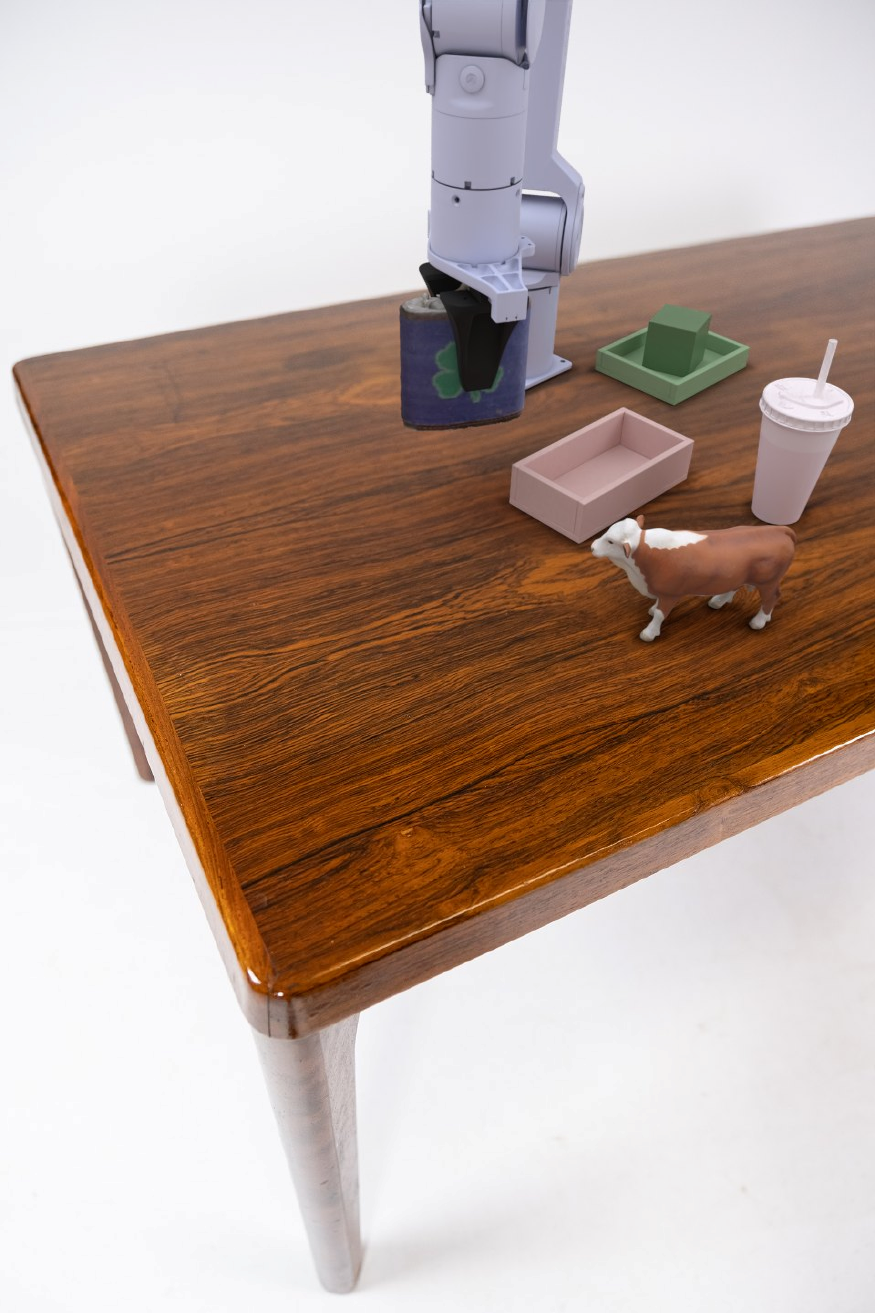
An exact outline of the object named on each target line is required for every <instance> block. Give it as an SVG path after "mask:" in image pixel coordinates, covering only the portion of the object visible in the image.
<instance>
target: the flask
mask: <svg viewBox="0 0 875 1313" xmlns="http://www.w3.org/2000/svg"><path fill="white" fill-rule="evenodd" d="M469 288H470V286H468V285H466V284H464V283H462V285H461V286H460V288H458V289H457V290H465V289H468V290H469ZM455 291H456V290H455ZM436 296H437V297H439V298H437V297H431V296H430V294H429V292H424V293H422V295H421V296H419V297H414V298H409V299H407V300H405V301H404V302H403V303H402V304H401V305H400V306H399V310H398V311H399V318H398V320H399V347H400V350H399V355H400V356H399V357H400V375H399V376H400V377H399V378H400V379H399V380H400V417H401V422H402V425H403V427H404V429H405V428H406V430H408V431H410V430H411V431H413V432H445V431H449V432H450V431H458V430H461V429H462V430H465V429H468V428H478V427H479V428H480V427H484V426H491V425H498V424H501V423H502V424H503V423H504V424H505V423H509V422H512V421H513V420H515V419H516V420H517V419H519V418H521V417H522V415H523V412H524V409H525V397H526V390H525V383H526V368H527V355H528V342H529V325H530V314H531V302H532V301H531V297H530V296H529V307H528V310H527V311H526V319H525V320H520V321H519V322H518V324H517V325H516V327H515V328H514V330H513V332H512V334H511V336H510V338H509V340H508V342H507V345H506V347H505V350H504V353H503V356H502V359H501V362H500V365H499V369H498V372H497V375H496V378H495V381H494V384H493V386H492V388H491V389H485V390H477V391H470V392H465V391H464V390H463V388H462V385H461V382H460V378H459V373H458V364H457V353H456V344H455V339H454V334H453V330H452V326H451V323H450V320H449V317H448V314H447V312H446V310H445V308H444V305H443V303H442V302H441V300H440V295H436Z"/></svg>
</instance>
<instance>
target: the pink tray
mask: <svg viewBox="0 0 875 1313" xmlns="http://www.w3.org/2000/svg"><path fill="white" fill-rule="evenodd" d="M694 445H695V440H694V439H692V438H690V437H687V436H685V435H684V434H681V433H679V432H677V431H675V430H672V429H671V428H669V427H666V426H664V425H662V424H660V423H658V422H656V421H654V420H651V419H649V418H647V417H645V416H644V415H641V414H639V413H637V412H635V411H633V410H631V409H628V408H627V407H625V406H624V407H623V406H622V407H620V408H619V409H617V410H615V411H612V412H611V413H609V414H607V415H605V416H603V417H601V418H599V419H597V420H595V421H594V422H591V423H590V424H588V425H586V426H584V427H582V428H580V429H578V430H576V431H574V432H572V433H570V434H569V435H567V436H565V437H563V438H561V439H559V440H557V441H554V442H553V443H551V444H549V445H547V446H545V447H544V448H541V449H540V450H538V451H536V452H534V453H532V454H530V455H528V456H526V457H524V458H522V459H520V460H518V461H517V462H515V463H513V464H512V465H511V474H510V475H511V477H510V488H509V489H510V490H509V502H508V503H509V504H510V505H511V506H513V507H515V508H517V509H519V510H520V511H522V512H524V513H525V514H527V515H529V516H530V517H532V518H533V519H536V520H538V521H539V522H540V523H543V525H545V526H548V527H549V528H551V529H552V530H555V531H556V532H558V533H560V534H561V535H563V536H565V537H566V538H568V539H569V540H571V541H574V542H575V543H577V544H578V545H579V544H582V543H584V541H587V540H588V539H590V538H591V537H593V536H595V535H597V534H598V533H600V532H601V531H603V530H604V529H607V527H610V526H612V525H614V524H615V523H617V522H619V520H621V519H623V518H625V517H626V516H628V515H629V514H631V513H633V512H634V511H635V510H638V509H639V508H641V507H642V506H644V505H646V504H647V503H649V502H651V501H652V500H654V499H656V498H657V497H659V496H660V495H662V494H664V493H665V492H667V491H668V490H670V489H672V488H674V487H675V486H677V485H679V484H681V483H682V482H684V481H685V480H687V478H688V475H689V474H688V473H689V469H690V464H691V460H692V456H693V450H694Z"/></svg>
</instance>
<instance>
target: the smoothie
mask: <svg viewBox="0 0 875 1313" xmlns="http://www.w3.org/2000/svg"><path fill="white" fill-rule="evenodd" d="M838 342H839V341H838V340H837V339H835V338H831V339H829V340H828V343H827V347H826V350H825V353H824V357H823V361H822V363H821V366H820V371H819V373H818V377H817V379H815V378H809V377H785V378H780V379H776V380H773V381H771V382H769V383H768V384H767V385H766V386H765V387H764V388H763V391H762V394H761V398H760V399H759V403H758V405H759V408H760V412H761V413H762V416H761V422H760V432H759V442H758V447H757V448H758V449H757V456H756V464H755V465H756V466H755V473H754V482H753V484H754V485H753V490H752V500H751V501H752V502H751V507H750V508H751V512H752V514H753V515H754V516H755V517H756V518H757V519H759V520H761V521H763V522H765V523H768V524H771V525H775V526H787V525H792V524H794V523H796V522H798V521H799V520H800V518H801V516H802V514H803V512H804V510H805V508H806V506H807V503H808V501H809V500H810V497H811V495H812V493H813V491H814V488H815V487H816V484H817V482H818V480H819V478H820V477H821V474H822V471H823V469H824V467H825V465H826V463H827V461H828V459H829V457H830V455H831V452H832V450H833V448H834V446H835V445H836V442H837V440H838V438H839V436H840V434H841V431H842V429H843V428H845V427H846V426H848V425H849V424H850V422H851V421H852V414H853V411H854V408H855V404H854V400H853V399H852V397H851V396H850V395H849V394H848V393H847V392H846V391H845V390H844V389H842V388H840V387H838V386H836V385H833V384H832V383H829V382H827V379H828V375H829V373H830V369H831V366H832V363H833V359H834V355H835V352H836V348H837V345H838Z"/></svg>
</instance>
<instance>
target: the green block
mask: <svg viewBox="0 0 875 1313" xmlns="http://www.w3.org/2000/svg"><path fill="white" fill-rule="evenodd" d="M712 317H713V314H712V313H710V312H705V311H701V310H697V309H693V308H689V307H683V306H679V305H674V304H672V303H671V304H670V303H665V304H664V305H663V306H661V308H660V309H658V311H657V312H656V313H655V314H654V316H652V317H651V319H649V320H648V324H647V327H648V330H647V336H646V342H645V349H644V355H643V361H642V366H643V367H645V368H648V369H652V370H656V371H660V372H664V373H668V374H672V375H675V376H679V377H685V376H687V375H689V374H691V373H692V372H693V371H694V370H695V368H696V367H697V366H698V365H699V363H700V362H701V361H702V360H703V356H704V351H705V346H706V341H707V336H708V332H709V331H710V326H711V321H712Z"/></svg>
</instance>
